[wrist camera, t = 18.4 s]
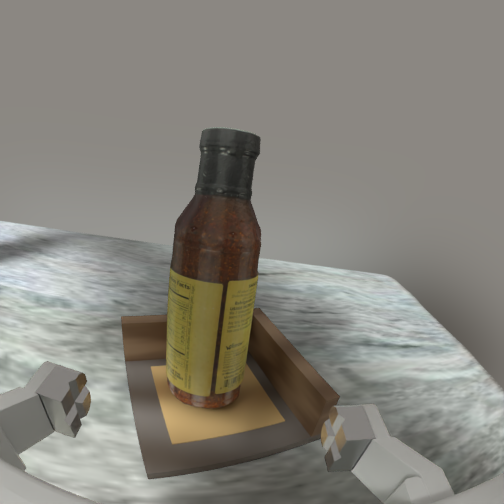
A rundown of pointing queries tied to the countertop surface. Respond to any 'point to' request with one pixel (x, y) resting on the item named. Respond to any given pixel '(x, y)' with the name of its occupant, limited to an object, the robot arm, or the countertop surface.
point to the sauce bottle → (214, 274)
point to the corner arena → (230, 416)
